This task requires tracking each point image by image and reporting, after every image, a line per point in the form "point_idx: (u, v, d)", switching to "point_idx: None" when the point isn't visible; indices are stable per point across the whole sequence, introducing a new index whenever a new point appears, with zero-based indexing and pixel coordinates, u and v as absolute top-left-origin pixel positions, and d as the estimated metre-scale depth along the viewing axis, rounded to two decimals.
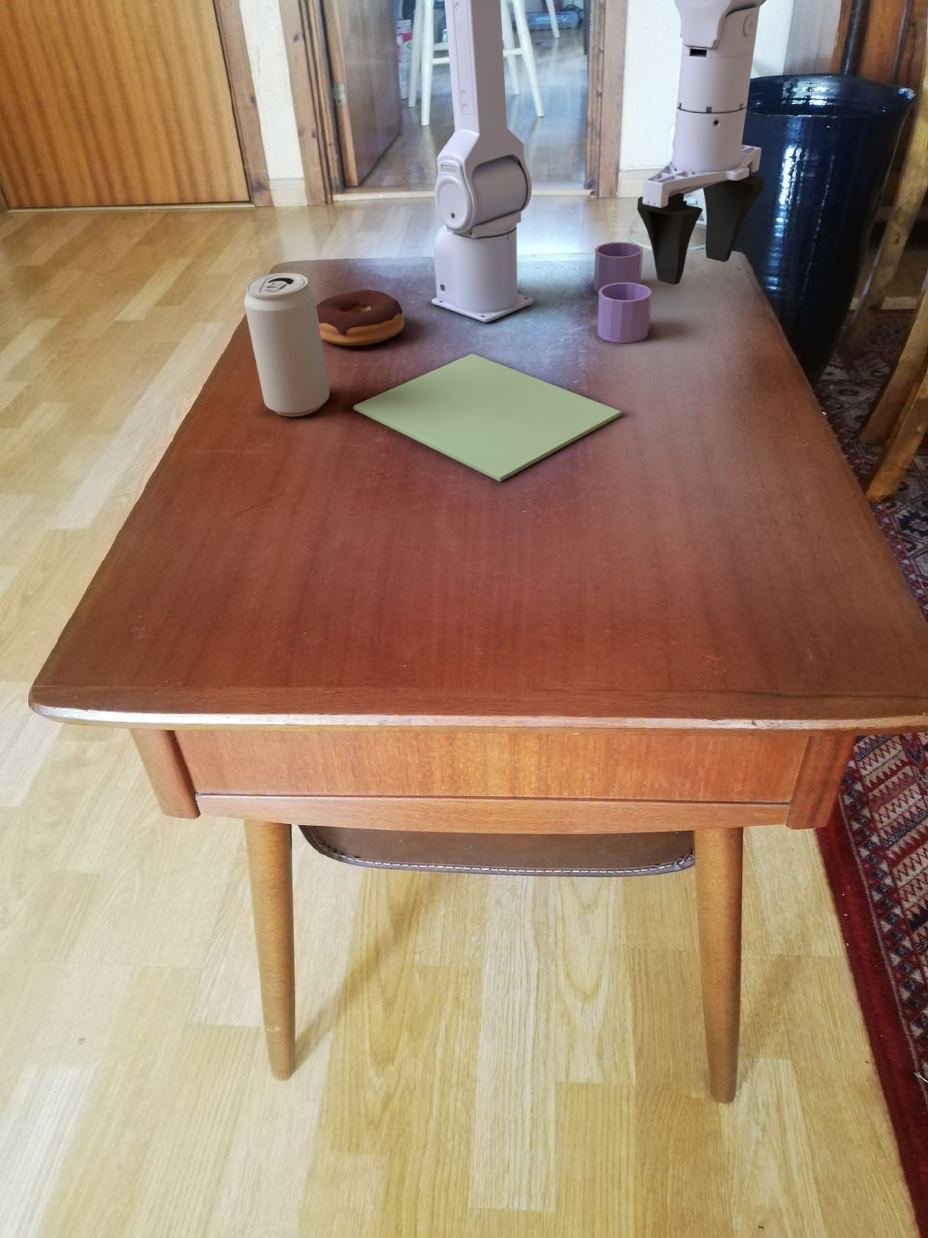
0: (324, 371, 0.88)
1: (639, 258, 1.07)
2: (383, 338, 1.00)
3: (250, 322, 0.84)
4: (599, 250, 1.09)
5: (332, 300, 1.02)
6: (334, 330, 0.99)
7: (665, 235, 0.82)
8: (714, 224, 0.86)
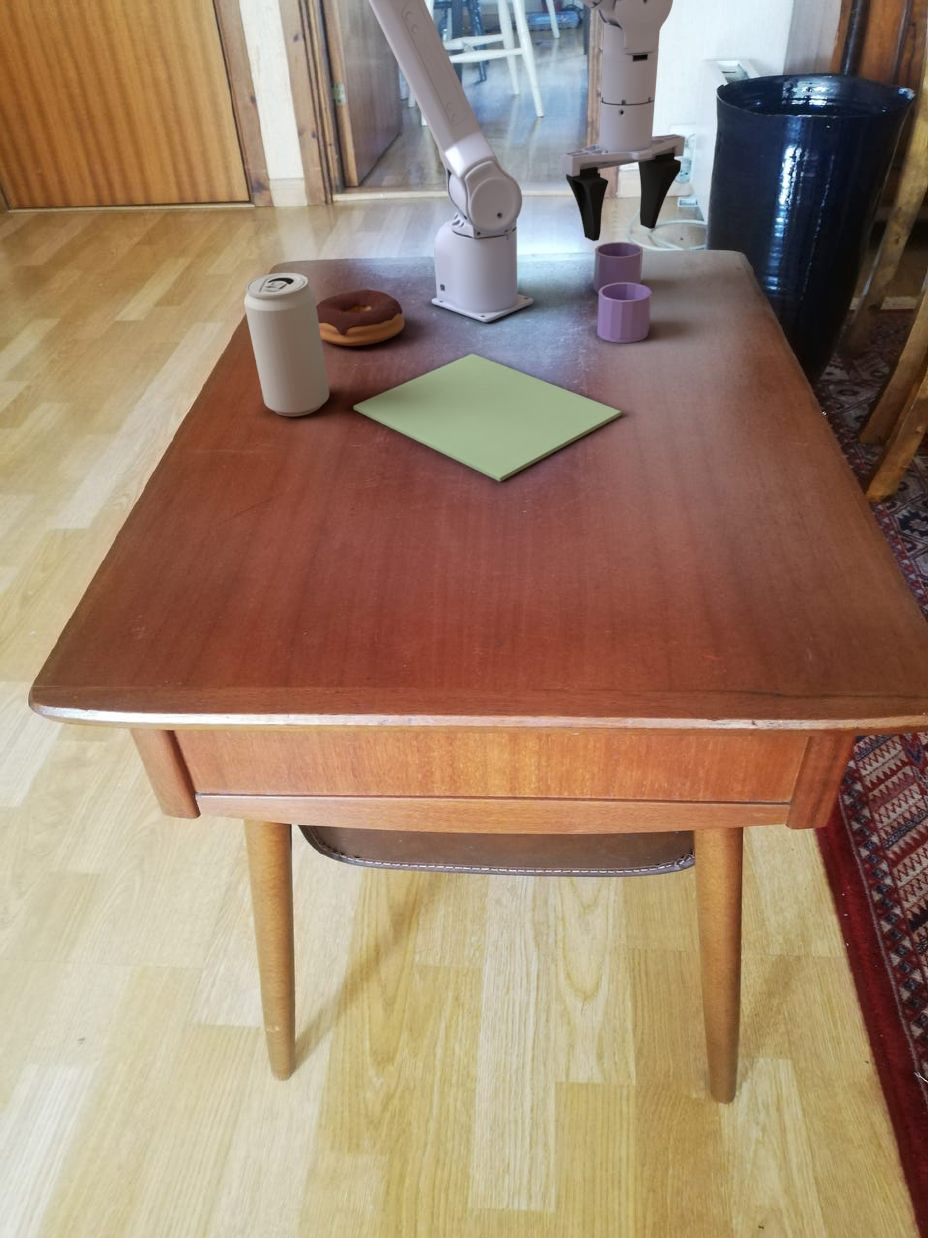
0: (324, 371, 0.88)
1: (639, 258, 1.07)
2: (383, 338, 1.00)
3: (250, 322, 0.84)
4: (599, 250, 1.09)
5: (332, 300, 1.02)
6: (334, 330, 0.99)
7: (587, 200, 1.03)
8: (645, 197, 1.06)
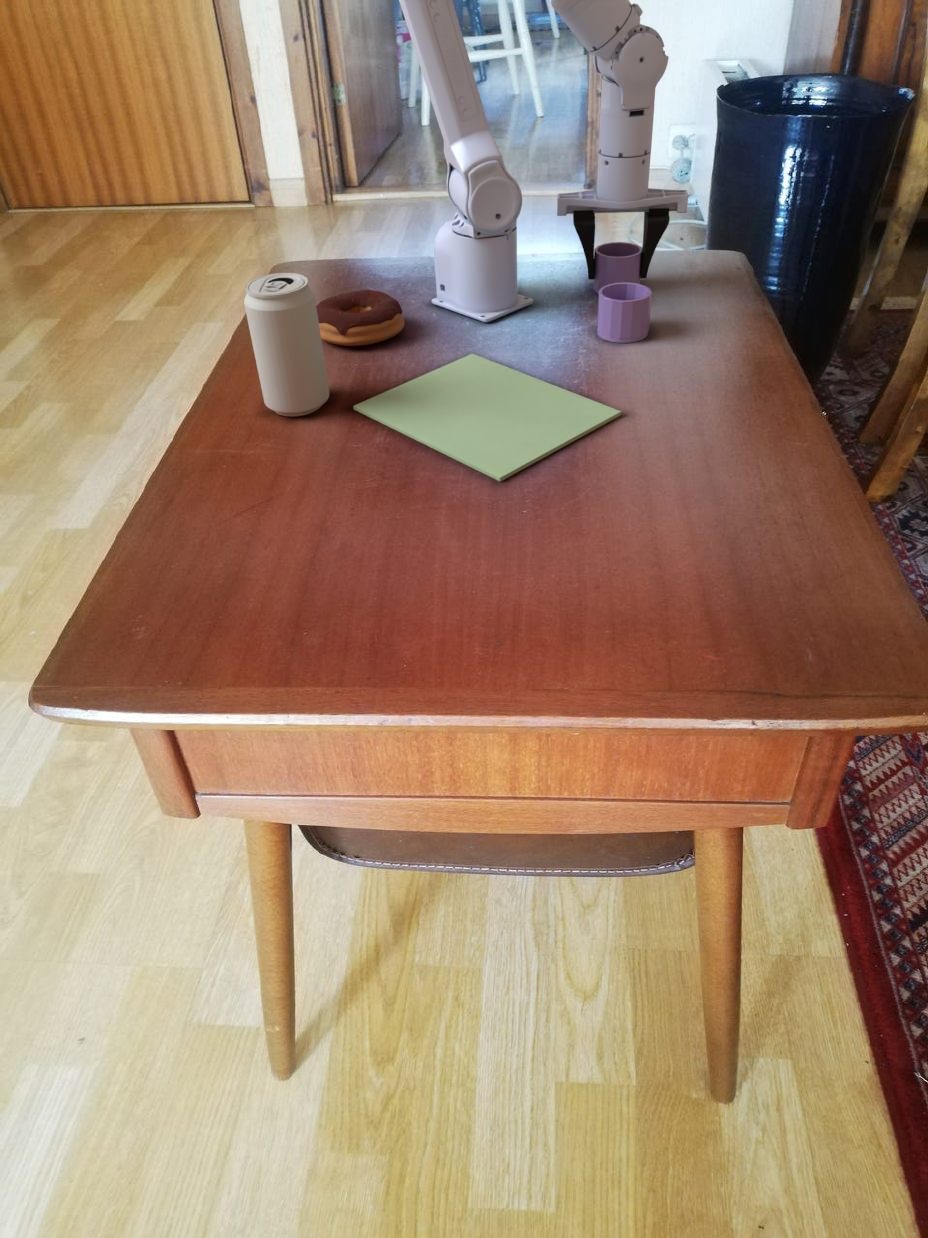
0: (324, 371, 0.88)
1: (639, 258, 1.07)
2: (383, 338, 1.00)
3: (250, 322, 0.84)
4: (599, 250, 1.09)
5: (332, 300, 1.02)
6: (334, 330, 0.99)
7: None
8: None
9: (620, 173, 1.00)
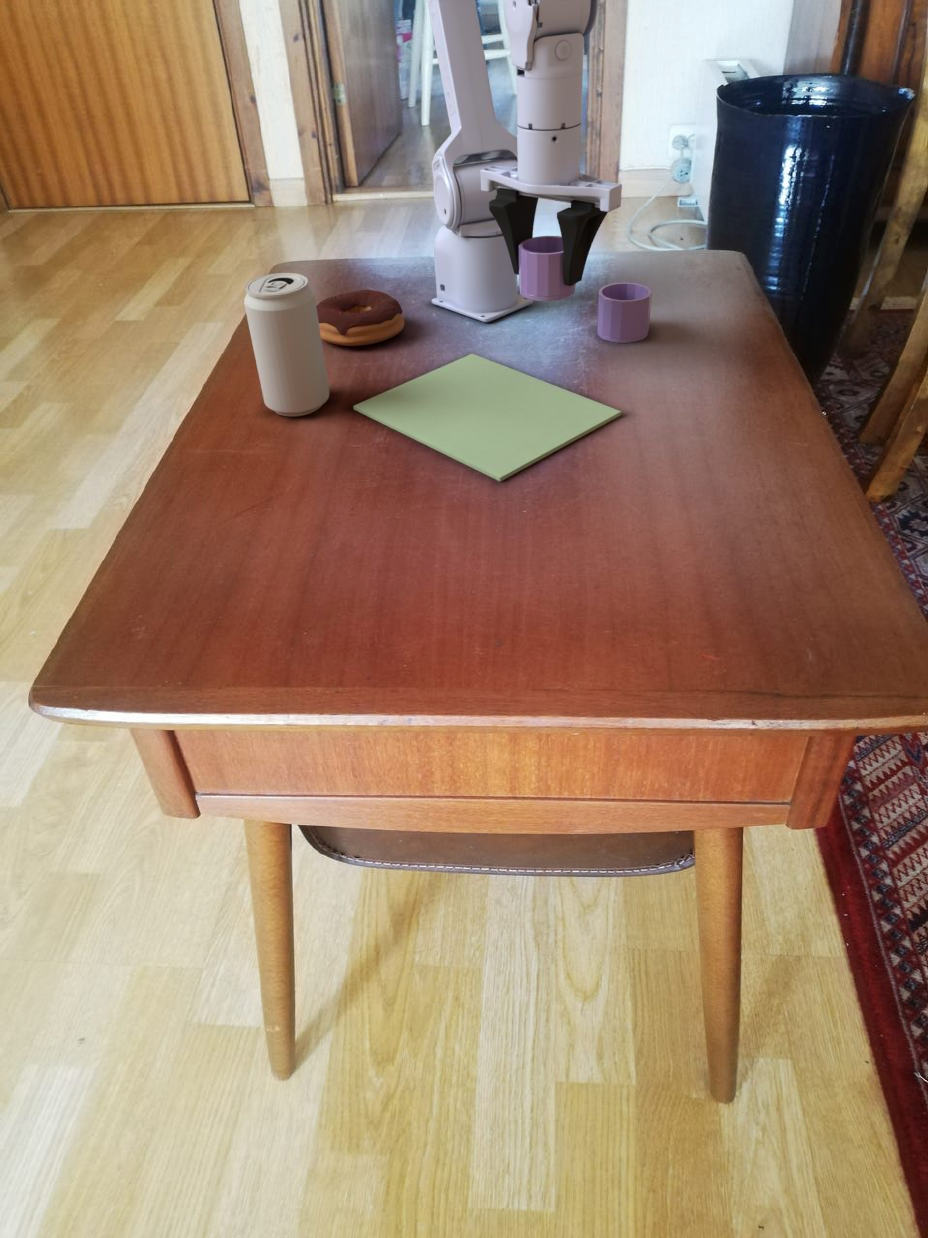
0: (324, 371, 0.88)
1: (558, 259, 0.87)
2: (383, 338, 1.00)
3: (250, 322, 0.84)
4: (534, 242, 0.91)
5: (332, 300, 1.02)
6: (334, 330, 0.99)
7: None
8: (519, 241, 0.90)
9: (526, 148, 0.82)
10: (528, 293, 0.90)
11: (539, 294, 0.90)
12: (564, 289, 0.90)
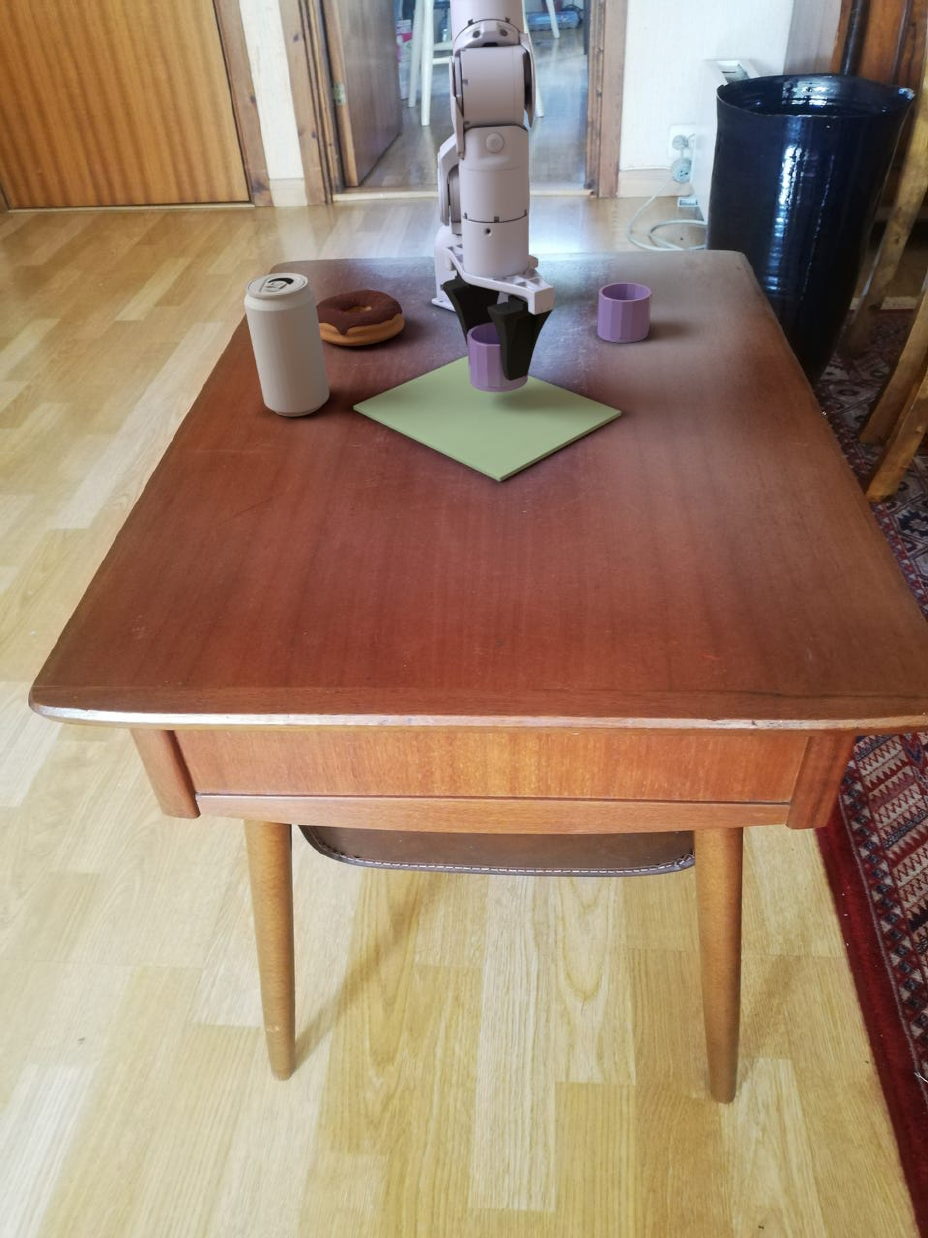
0: (324, 371, 0.88)
1: (497, 351, 0.83)
2: (383, 338, 1.00)
3: (250, 322, 0.84)
4: (493, 327, 0.86)
5: (332, 300, 1.02)
6: (334, 330, 0.99)
7: (515, 336, 0.81)
8: (474, 325, 0.86)
9: (464, 236, 0.78)
10: (471, 380, 0.86)
11: (480, 383, 0.85)
12: (506, 382, 0.84)
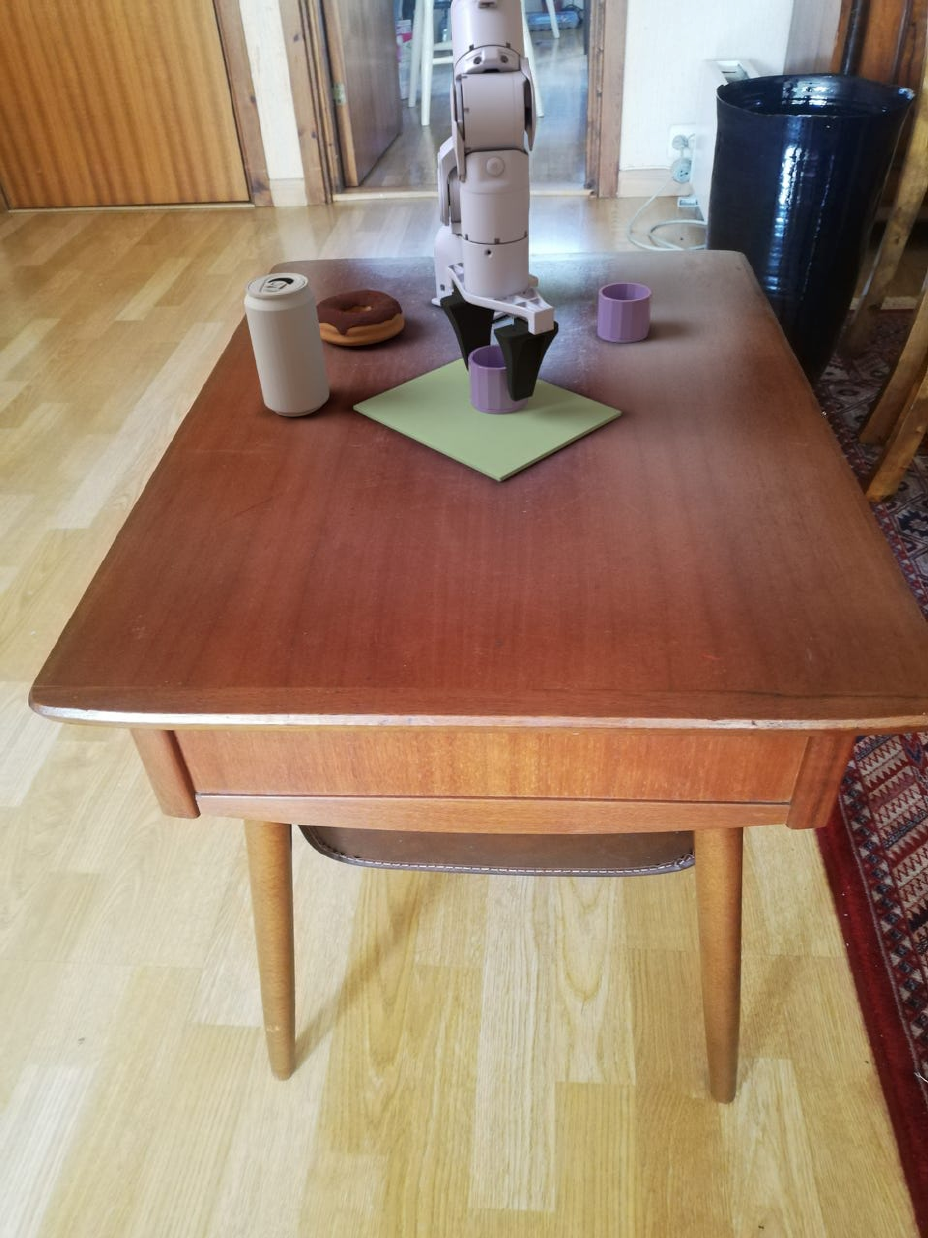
0: (324, 371, 0.88)
1: (498, 375, 0.84)
2: (383, 338, 1.00)
3: (250, 322, 0.84)
4: (494, 349, 0.88)
5: (332, 300, 1.02)
6: (334, 330, 0.99)
7: (521, 357, 0.82)
8: (470, 340, 0.88)
9: (465, 257, 0.79)
10: (472, 402, 0.87)
11: (481, 405, 0.87)
12: (506, 404, 0.86)
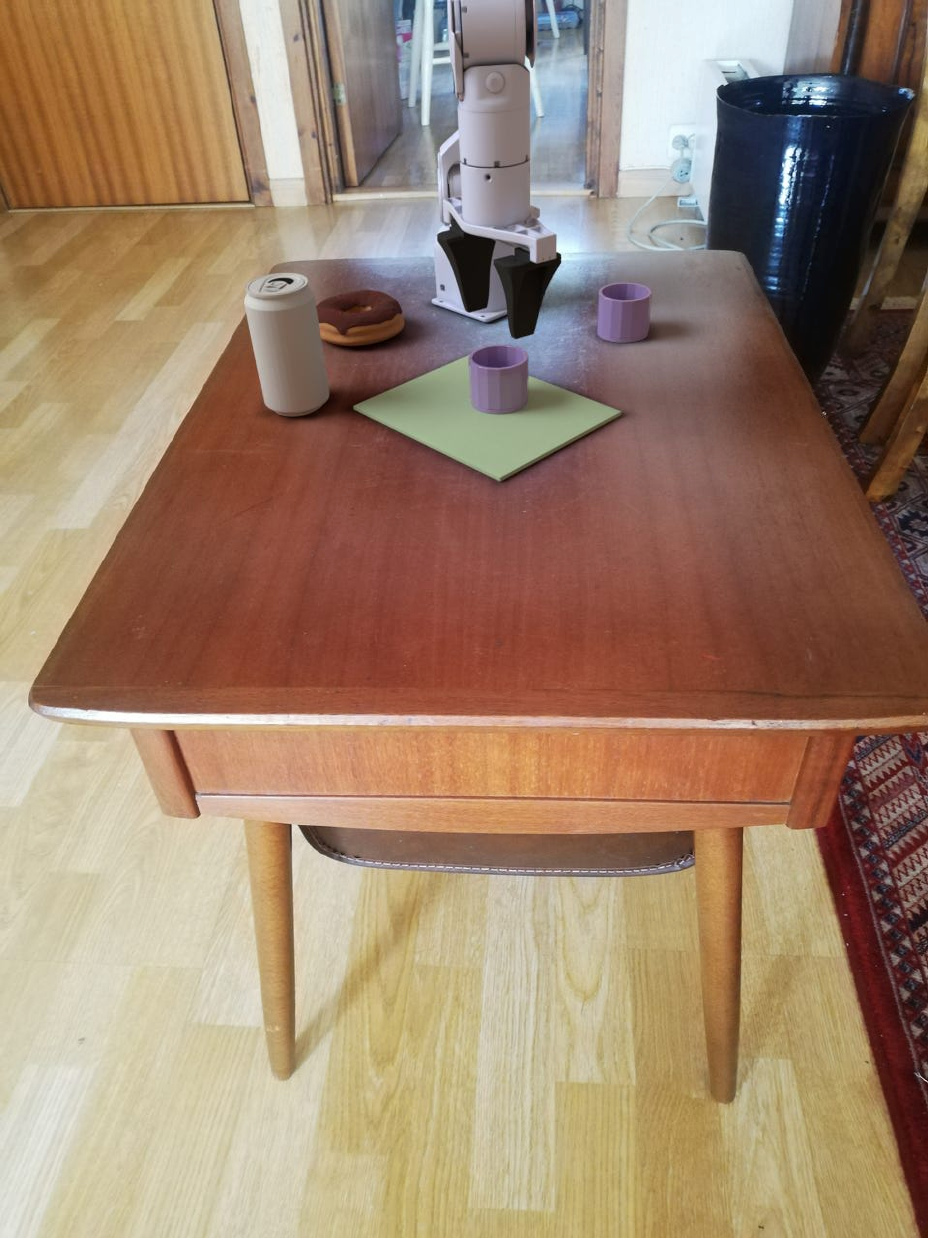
0: (324, 371, 0.88)
1: (498, 375, 0.84)
2: (383, 338, 1.00)
3: (250, 322, 0.84)
4: (494, 349, 0.88)
5: (332, 300, 1.02)
6: (334, 330, 0.99)
7: (522, 291, 0.78)
8: (469, 278, 0.84)
9: (463, 184, 0.75)
10: (472, 402, 0.87)
11: (481, 405, 0.87)
12: (506, 404, 0.86)
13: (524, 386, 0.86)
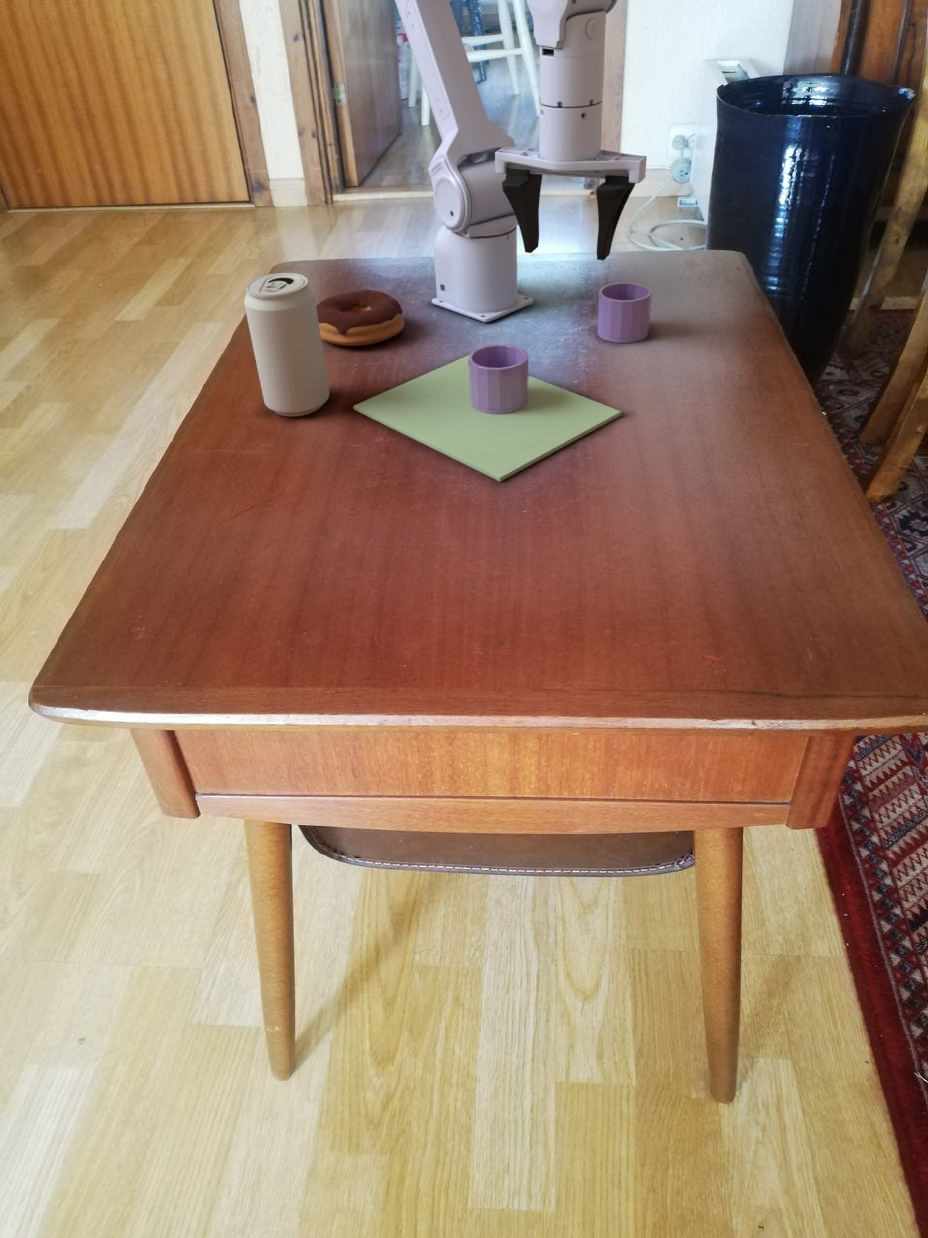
0: (324, 371, 0.88)
1: (498, 375, 0.84)
2: (383, 338, 1.00)
3: (250, 322, 0.84)
4: (494, 349, 0.88)
5: (332, 300, 1.02)
6: (334, 330, 0.99)
7: None
8: (530, 220, 0.92)
9: (554, 126, 0.84)
10: (472, 402, 0.87)
11: (481, 405, 0.87)
12: (506, 404, 0.86)
13: (524, 386, 0.86)
